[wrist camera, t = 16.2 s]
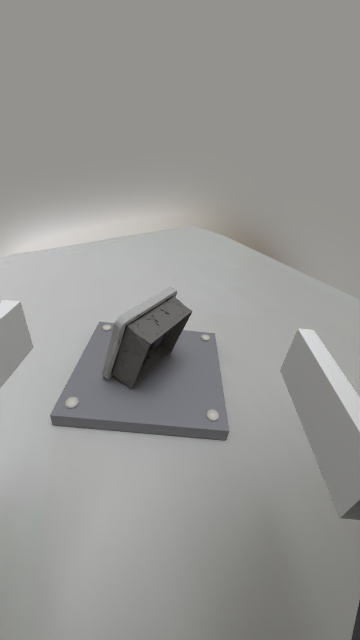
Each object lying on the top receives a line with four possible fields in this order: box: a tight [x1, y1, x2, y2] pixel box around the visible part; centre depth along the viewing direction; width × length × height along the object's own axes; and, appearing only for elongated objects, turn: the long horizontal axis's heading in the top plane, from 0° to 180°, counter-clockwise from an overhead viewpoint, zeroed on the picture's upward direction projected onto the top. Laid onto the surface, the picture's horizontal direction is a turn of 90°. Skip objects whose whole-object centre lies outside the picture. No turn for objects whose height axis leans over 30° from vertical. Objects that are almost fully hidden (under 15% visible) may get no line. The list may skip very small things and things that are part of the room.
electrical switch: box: [102, 287, 192, 389], centre depth 29 cm, size 9×5×9 cm, turn 148°
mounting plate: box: [50, 322, 229, 440], centre depth 32 cm, size 17×16×2 cm
